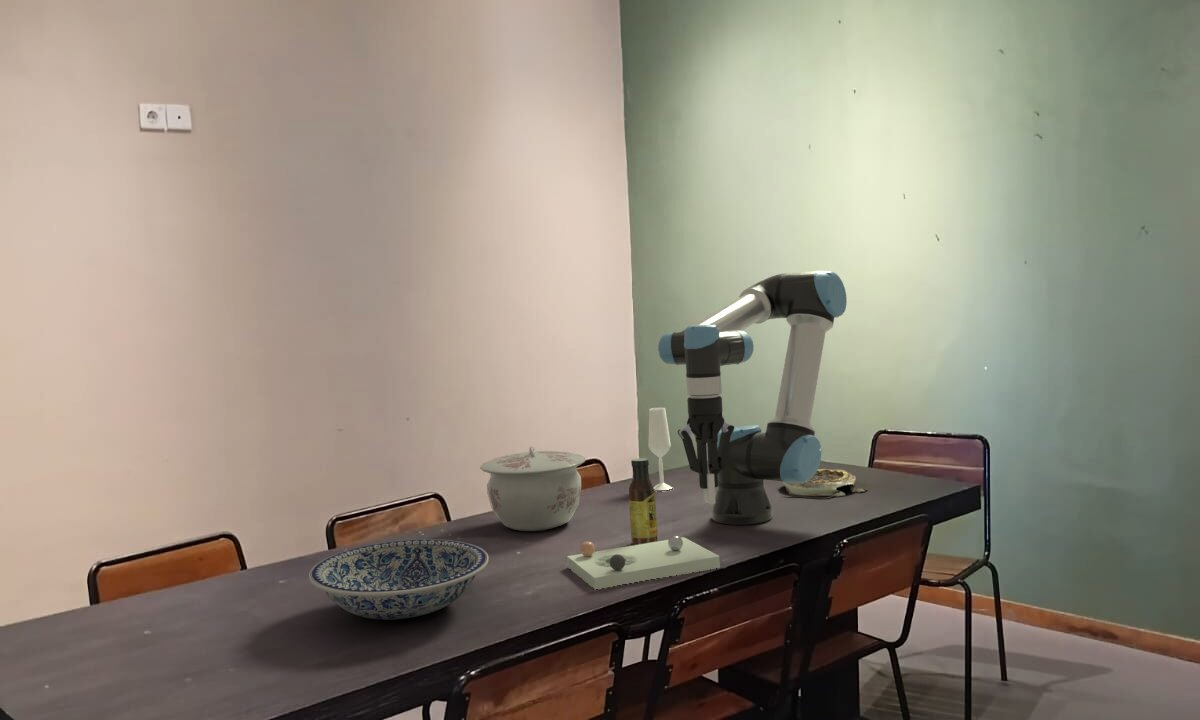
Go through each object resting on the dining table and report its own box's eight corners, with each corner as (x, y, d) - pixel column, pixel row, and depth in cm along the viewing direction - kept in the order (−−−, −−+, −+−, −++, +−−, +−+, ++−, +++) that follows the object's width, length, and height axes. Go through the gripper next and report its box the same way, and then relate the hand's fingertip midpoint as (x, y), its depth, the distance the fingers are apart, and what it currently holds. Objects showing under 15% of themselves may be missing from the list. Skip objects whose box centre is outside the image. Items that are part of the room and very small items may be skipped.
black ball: (622, 566, 198) (621, 551, 197) (627, 570, 195) (626, 555, 194) (607, 569, 196) (606, 554, 196) (613, 573, 193) (612, 557, 193)
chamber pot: (526, 545, 229) (520, 460, 227) (464, 528, 250) (457, 450, 248) (613, 521, 247) (607, 442, 246) (547, 507, 268) (542, 434, 266)
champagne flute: (651, 487, 286) (646, 407, 284) (674, 486, 285) (669, 406, 283) (649, 491, 279) (644, 410, 277) (672, 491, 278) (667, 409, 276)
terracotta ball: (592, 553, 209) (591, 538, 209) (597, 556, 206) (596, 542, 206) (578, 555, 208) (577, 541, 208) (583, 559, 205) (582, 544, 205)
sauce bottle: (656, 546, 220) (650, 461, 219) (629, 546, 222) (624, 462, 220) (660, 539, 227) (654, 456, 225) (634, 539, 228) (629, 457, 226)
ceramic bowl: (407, 655, 163) (402, 598, 162) (274, 628, 181) (269, 576, 181) (526, 594, 192) (523, 545, 191) (401, 576, 210) (397, 531, 209)
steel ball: (679, 547, 209) (678, 533, 209) (685, 551, 206) (684, 536, 206) (666, 549, 208) (665, 535, 208) (672, 553, 205) (671, 538, 205)
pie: (752, 496, 267) (751, 479, 266) (791, 478, 289) (790, 462, 289) (849, 503, 251) (848, 485, 250) (882, 484, 273) (882, 466, 273)
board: (684, 547, 218) (683, 537, 217) (720, 567, 201) (719, 556, 200) (567, 567, 208) (567, 556, 208) (595, 590, 191) (594, 577, 191)
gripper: (723, 392, 213) (728, 496, 215) (670, 397, 209) (675, 503, 210) (739, 394, 206) (744, 502, 208) (684, 399, 202) (690, 509, 203)
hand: (709, 502), depth 209 cm, fingers closed
